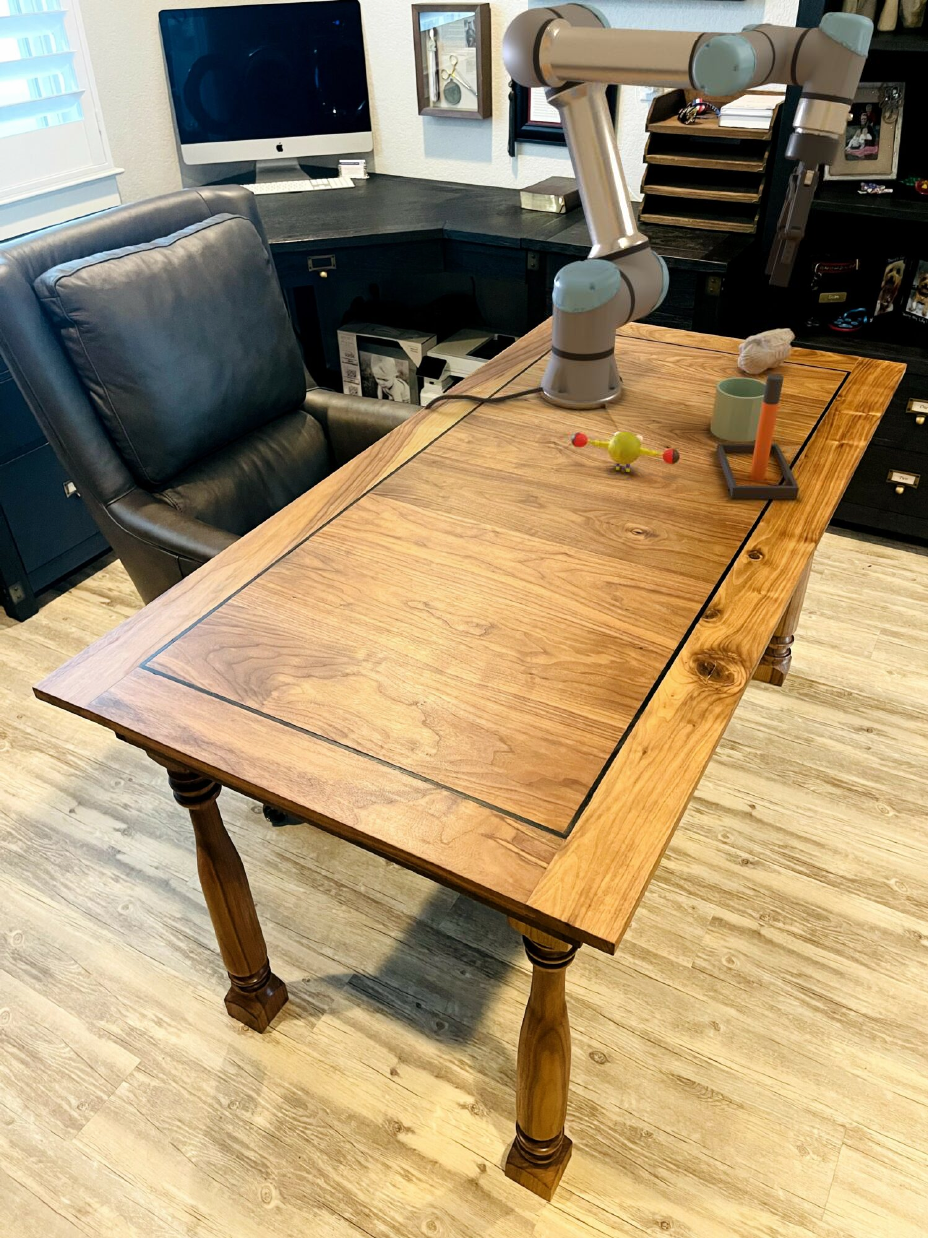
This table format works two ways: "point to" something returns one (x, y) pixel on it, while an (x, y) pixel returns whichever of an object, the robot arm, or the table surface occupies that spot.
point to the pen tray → (757, 491)
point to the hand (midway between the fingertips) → (775, 280)
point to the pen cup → (737, 409)
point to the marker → (766, 426)
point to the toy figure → (625, 449)
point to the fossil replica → (765, 350)
